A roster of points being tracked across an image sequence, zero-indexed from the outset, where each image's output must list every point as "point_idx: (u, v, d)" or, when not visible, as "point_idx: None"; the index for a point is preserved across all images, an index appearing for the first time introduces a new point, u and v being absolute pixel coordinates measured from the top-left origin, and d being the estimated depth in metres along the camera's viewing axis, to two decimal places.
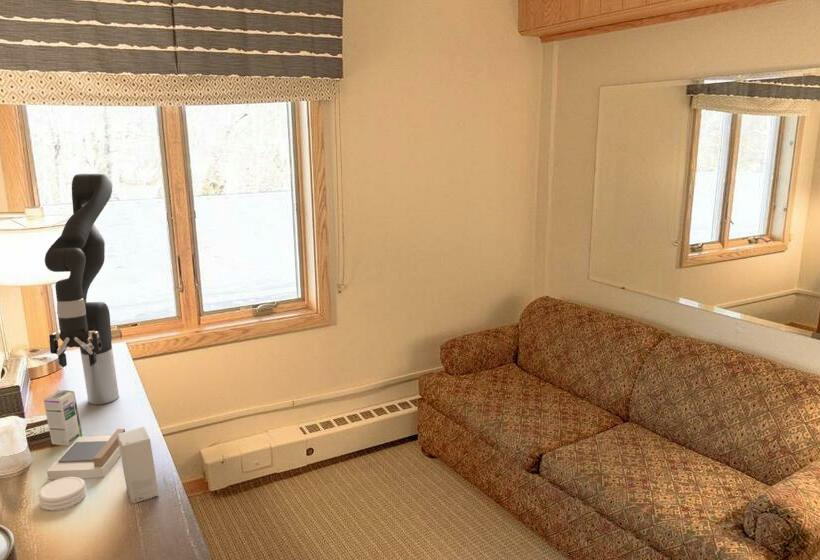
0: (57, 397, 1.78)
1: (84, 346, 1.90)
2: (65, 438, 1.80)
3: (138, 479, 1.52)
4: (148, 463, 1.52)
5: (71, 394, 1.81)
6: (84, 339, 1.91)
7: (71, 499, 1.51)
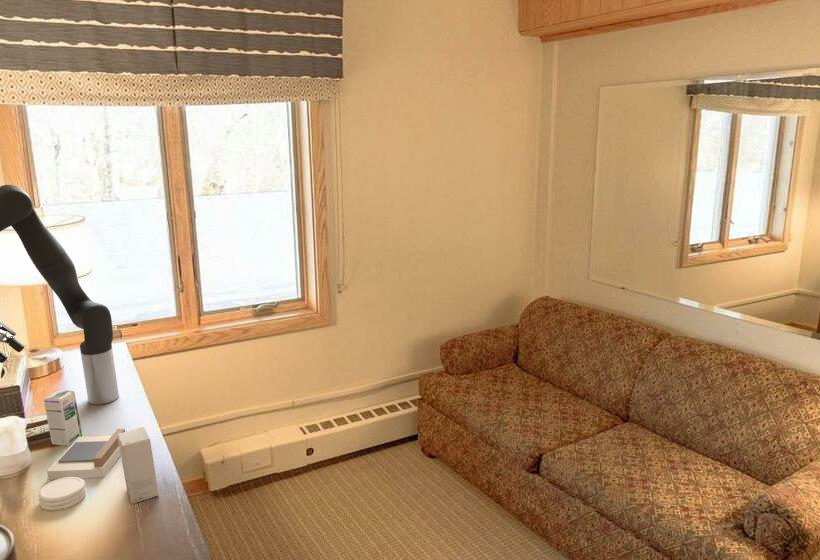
0: (57, 397, 1.78)
1: None
2: (65, 438, 1.80)
3: (138, 479, 1.52)
4: (148, 463, 1.52)
5: (71, 394, 1.81)
6: None
7: (71, 499, 1.51)
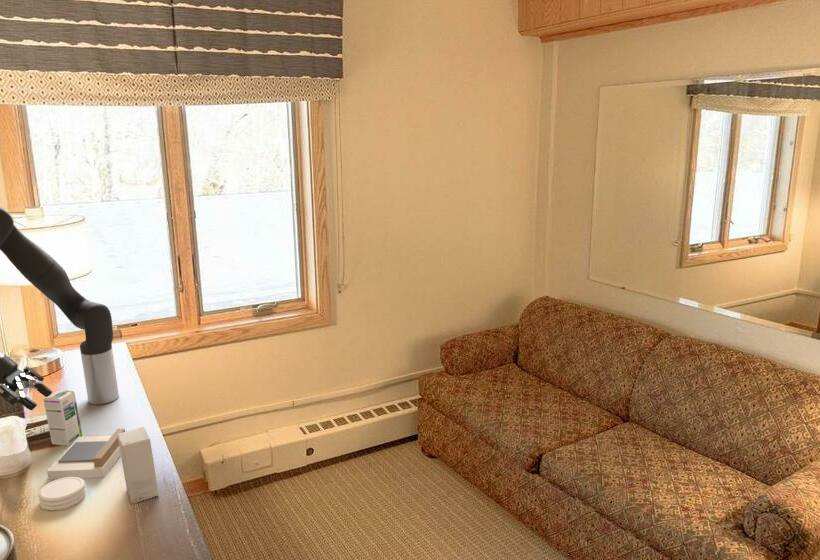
0: (57, 397, 1.78)
1: None
2: (65, 438, 1.80)
3: (138, 479, 1.52)
4: (149, 463, 1.52)
5: (71, 394, 1.81)
6: None
7: (71, 499, 1.51)
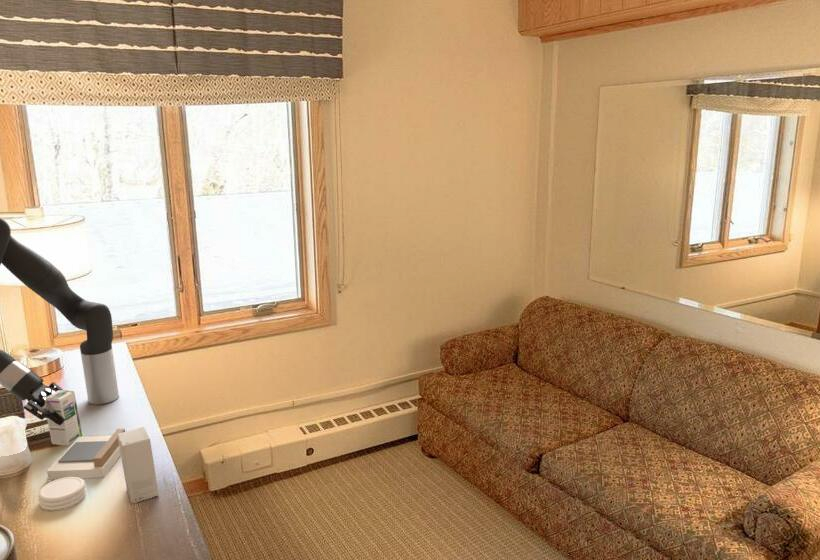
0: (57, 397, 1.78)
1: None
2: (65, 438, 1.80)
3: (138, 479, 1.52)
4: (148, 463, 1.52)
5: (71, 394, 1.81)
6: None
7: (71, 499, 1.51)
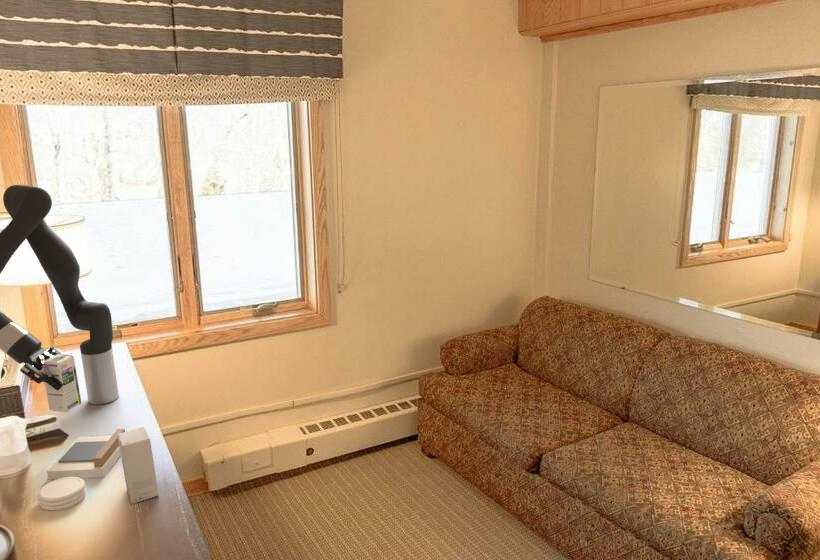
0: (55, 361, 1.69)
1: None
2: (63, 404, 1.71)
3: (138, 479, 1.52)
4: (148, 463, 1.52)
5: (70, 359, 1.72)
6: None
7: (71, 499, 1.51)
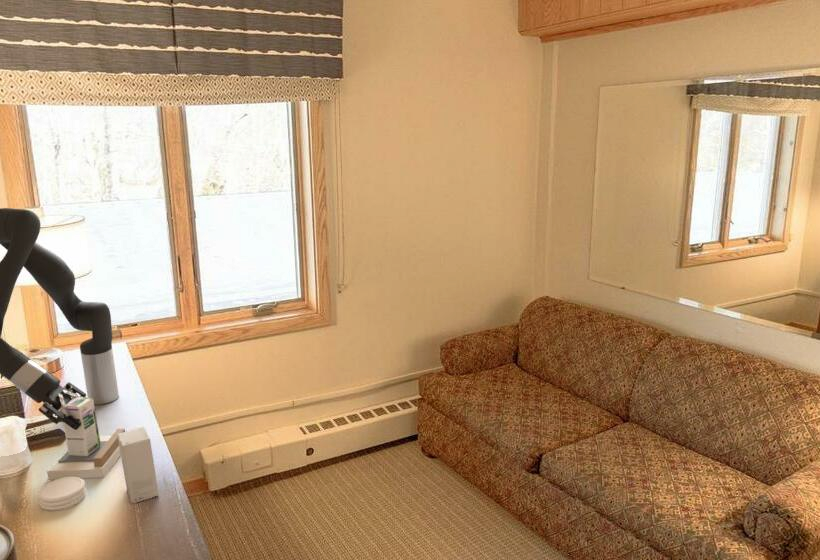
0: (75, 404, 1.66)
1: None
2: (84, 448, 1.68)
3: (138, 479, 1.52)
4: (148, 463, 1.52)
5: (90, 401, 1.69)
6: None
7: (71, 499, 1.51)
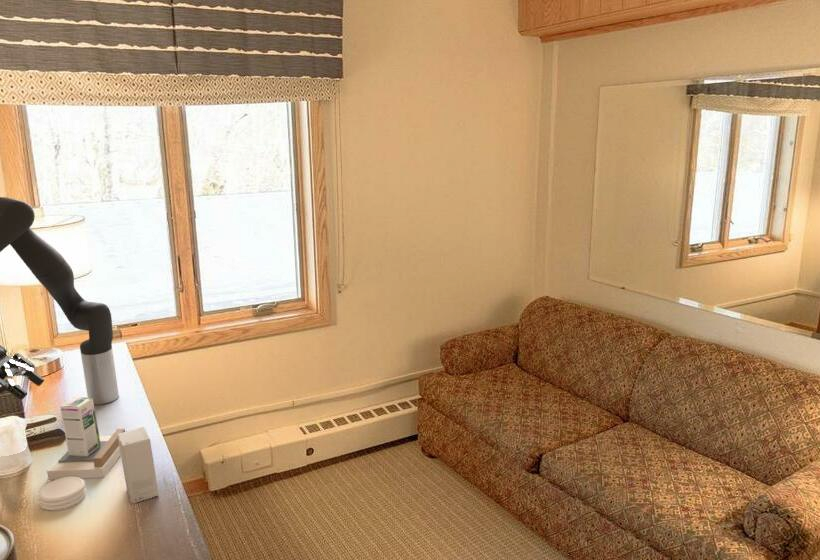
0: (75, 405, 1.66)
1: None
2: (84, 448, 1.68)
3: (138, 479, 1.52)
4: (148, 463, 1.52)
5: (90, 402, 1.69)
6: None
7: (71, 499, 1.51)
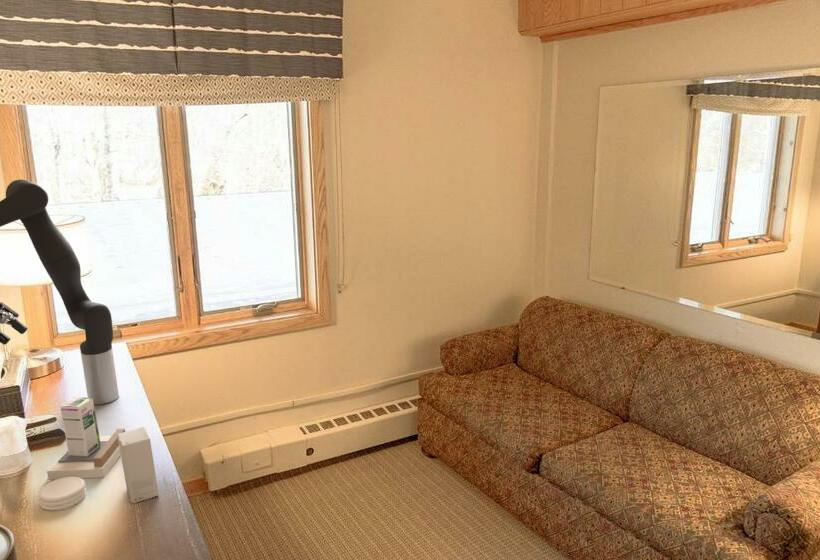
0: (75, 405, 1.66)
1: None
2: (84, 448, 1.68)
3: (138, 479, 1.52)
4: (148, 463, 1.52)
5: (90, 402, 1.69)
6: None
7: (71, 499, 1.51)
